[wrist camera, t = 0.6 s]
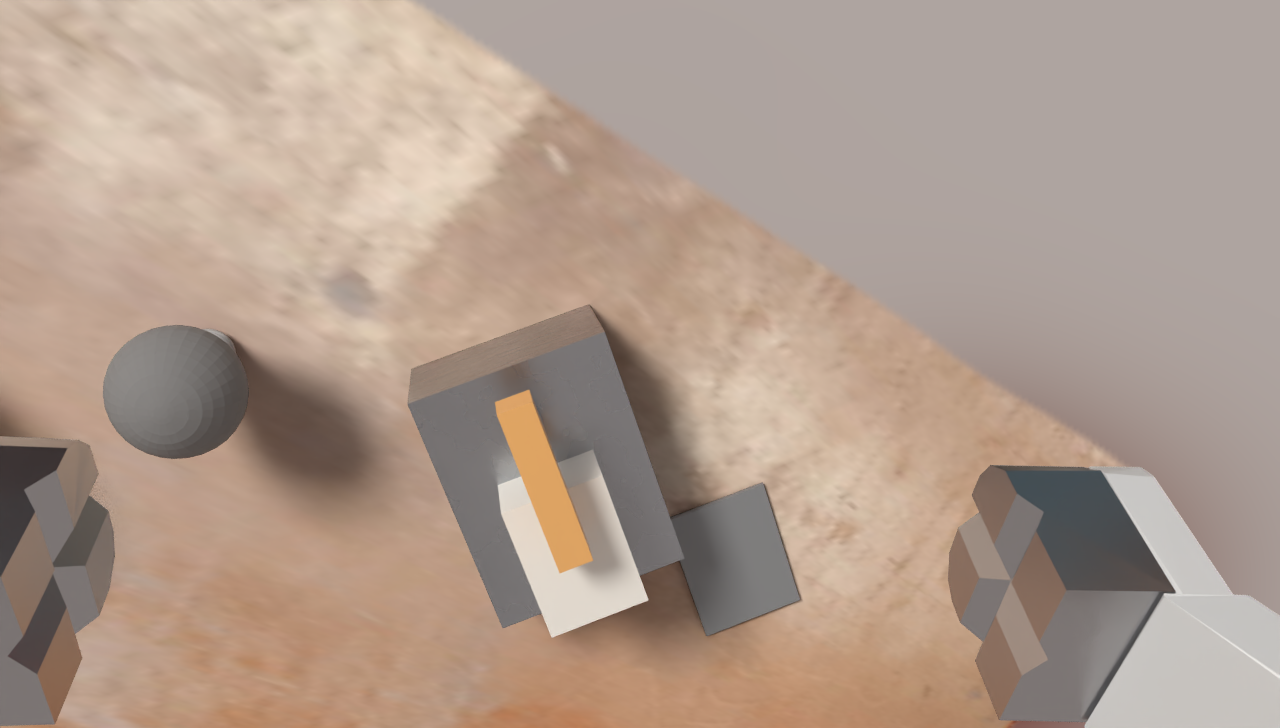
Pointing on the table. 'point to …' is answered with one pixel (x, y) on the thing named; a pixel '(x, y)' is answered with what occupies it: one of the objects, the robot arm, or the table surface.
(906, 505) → the table surface
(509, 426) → the t key
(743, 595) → the mat
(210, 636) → the table surface
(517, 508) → the cream white box
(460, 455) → the box
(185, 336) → the light bulb
